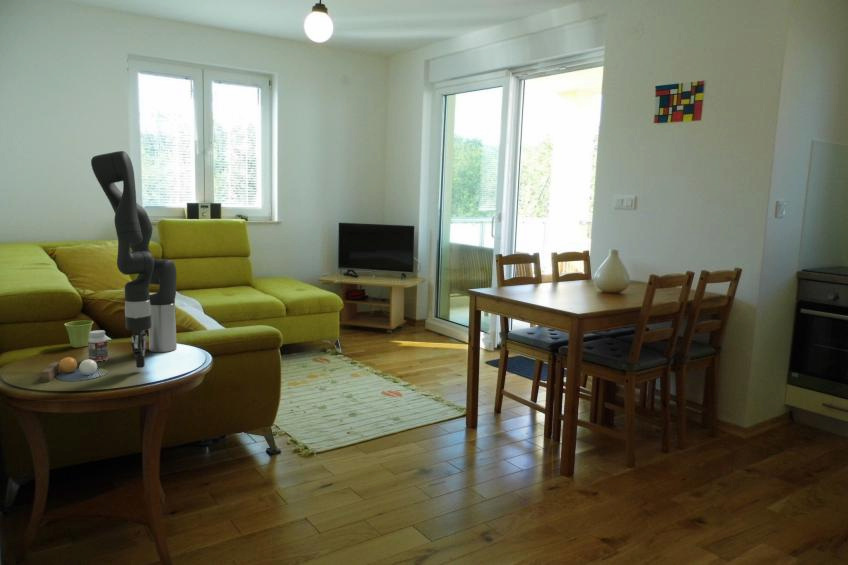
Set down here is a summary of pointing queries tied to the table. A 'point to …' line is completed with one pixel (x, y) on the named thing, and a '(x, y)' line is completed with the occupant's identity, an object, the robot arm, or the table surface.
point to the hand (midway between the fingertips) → (140, 366)
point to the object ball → (68, 365)
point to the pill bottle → (98, 346)
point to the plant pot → (79, 332)
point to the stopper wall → (50, 372)
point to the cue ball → (88, 367)
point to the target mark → (77, 376)
